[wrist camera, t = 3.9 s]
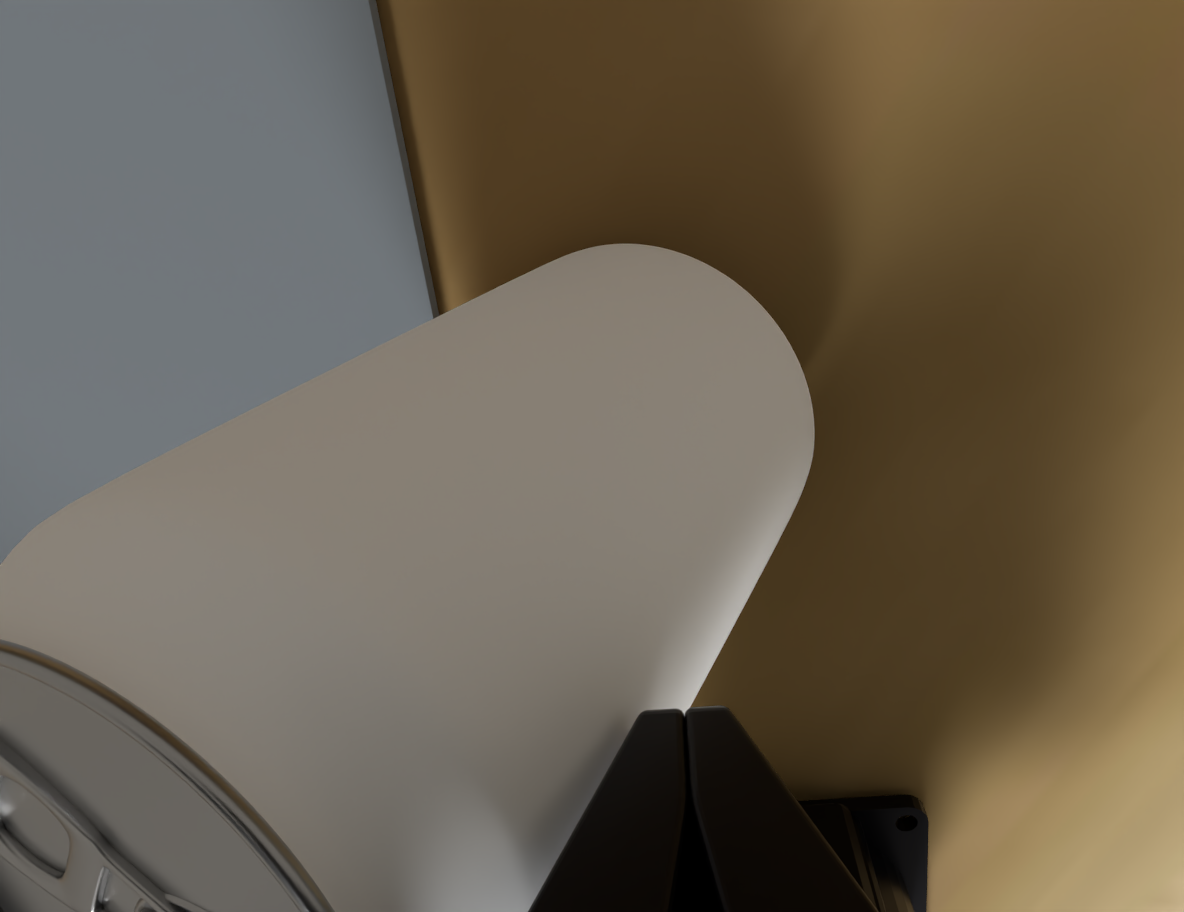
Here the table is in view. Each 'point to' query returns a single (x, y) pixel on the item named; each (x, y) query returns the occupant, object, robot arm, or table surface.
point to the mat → (187, 225)
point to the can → (398, 605)
